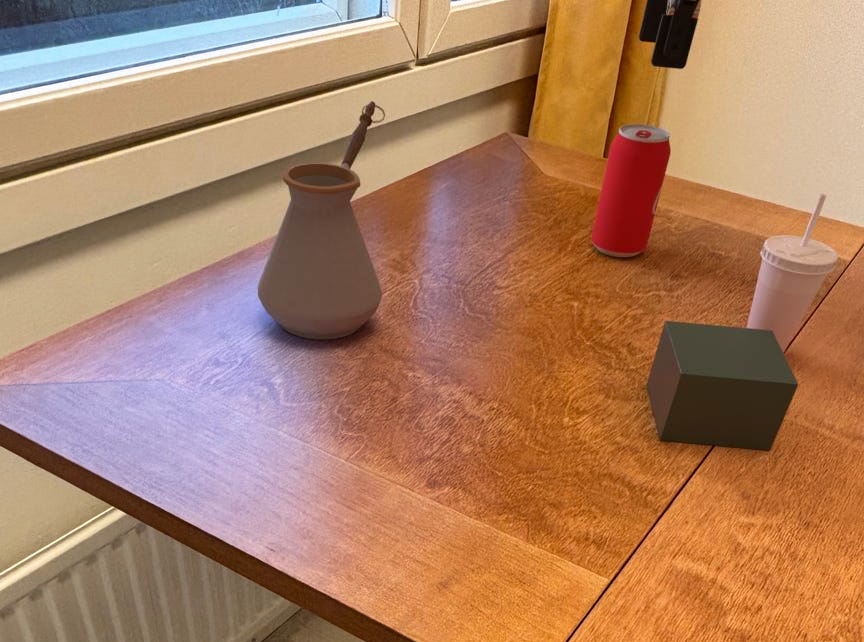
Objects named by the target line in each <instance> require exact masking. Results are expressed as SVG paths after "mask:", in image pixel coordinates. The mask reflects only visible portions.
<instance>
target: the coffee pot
mask: <svg viewBox="0 0 864 642" xmlns="http://www.w3.org/2000/svg"><path fill="white" fill-rule="evenodd" d="M376 108H377V109H379V111H381V112H382V115H383V117H382V118H381V119H379V120H373V119H372V116H374V114H375V110H376ZM385 116H386V113H385V111H384V108H382V107H381V106H379V105H377V104H376V102H375V101H373V100H372V101H370V102H369V103H367V104H366V105H364V106H362V110H361V114H360V116H359V117H358V118H359V119H358V120H359V123H358V125H357V126H356V128H355V129H354V130H353V132H352V134H351V135H350V139H349V141H348V145H347V147H346V150H345V153H344V156H343V158H342V162H341V164H340V165H339V164H333V163H326V162H308V163H307V162H306V163H300V164H299V163H298V164H295V165H292V166H289V167H288V168H286V169H285V170H284V171H283V173H282V180H283V182H284V183H285V185H286V186H287V187H288V192H289V196H290V200H289V204H288V206H287V209H286V211H285V214H284V216H283V219H282V222H281V224H280V227H279V229H278V232H277V235H276V237H275V240H274V243H273V245H272V248H271V250H270V253H269V256H268V258H267V261H266V263H265V266H264V268H263V271H262V273H261V276H260V279H259V282H258V284H257V297H258V299H259V301H260V303H261V305H262V307H263V308H264V310H265V312H266V314H267V315H269V316H270V317H271V318H272V319H273V320H274V321H275V322H277V323H278V324H279V325H280V326H281V328H283V329H284V330H285V331H286V332H288V333H290V334H292V335H295V336H297V337H301V338H304V339H311V340H333V339H340V338H344V337H347V336H349V335H351V334H354V333H355V332H356V331H357V330H358V329H359V328H360V327H362V326H364V324H365V323H366V322H367V321H368V320H370V318H372V316H373V315H375V313H376V312H377V310H378V308H379V306H380V304H381V301H382V297H383V292H382V287H381V284H380V281H379V279H378V276H377V273H376V271H375V267H374V264H373V262H372V260H371V259H372V258H371V256H370V253H369V251H368V248H367V245H366V243H365V239H364V237H363V234H362V231H361V229H360V226H359V224H358V220H357V217H356V214H355V212H354V210H353V207H352V204H351V200H352V199H353V197H354V195H355V193H356V192H357V190H358V189H359V188H360V187H361V179H360V176H359V175H358V173H356V172H355V171H354V170H352V166H353V164H354V163H355V160H356V158H357V156H358V154H359V153H360V151H361V149H362V146H364V143H365V141H366V136H367V131H368V128H369V127H371V125H372V124H377V123H382V122H383V121H384V120H385Z"/></svg>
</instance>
